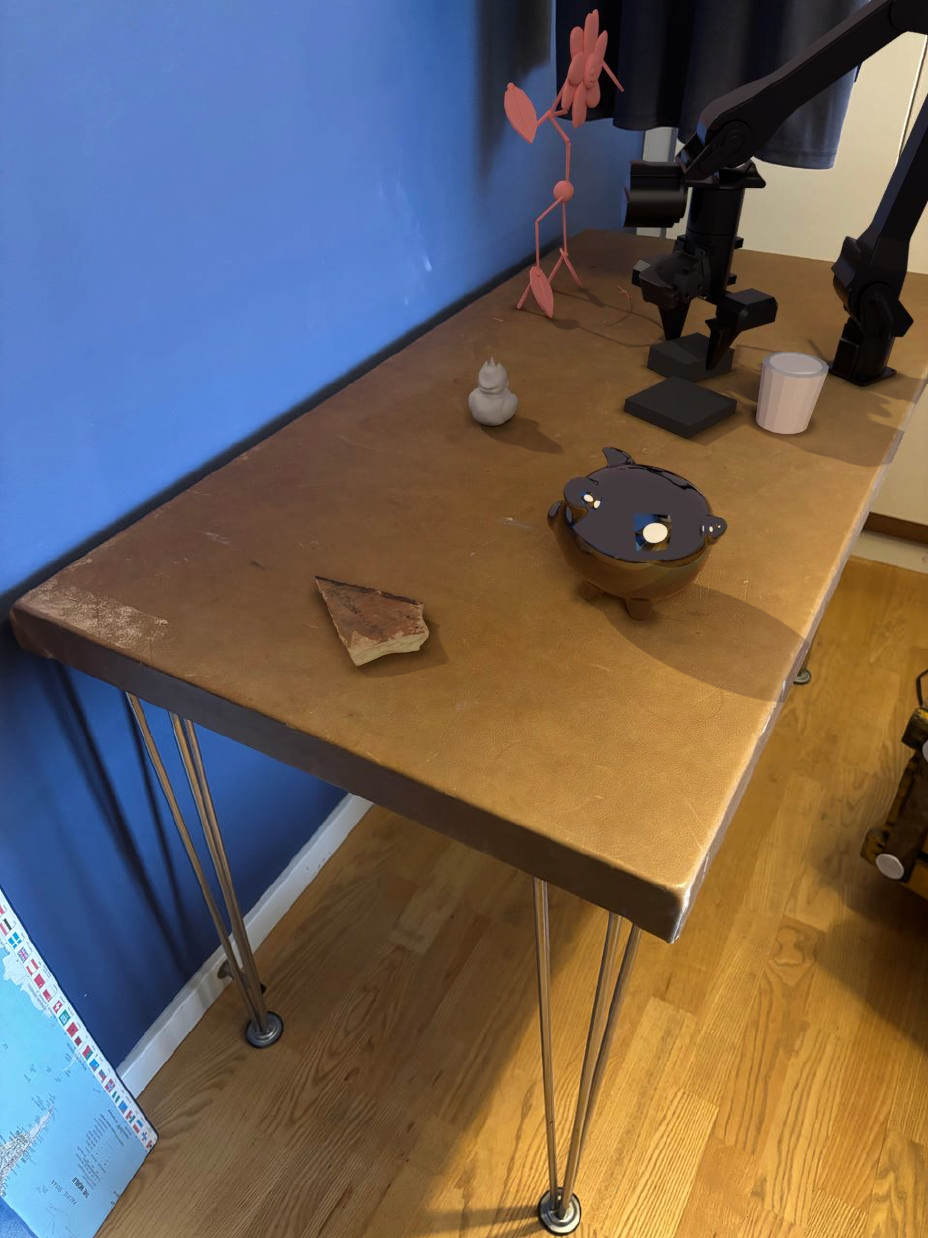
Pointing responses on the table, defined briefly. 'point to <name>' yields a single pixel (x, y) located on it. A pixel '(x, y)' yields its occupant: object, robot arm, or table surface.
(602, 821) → the table surface
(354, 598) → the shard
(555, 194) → the figurine
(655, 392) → the base pad
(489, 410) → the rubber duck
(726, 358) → the black pad
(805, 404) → the shot glass
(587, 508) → the piggy bank
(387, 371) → the table surface
